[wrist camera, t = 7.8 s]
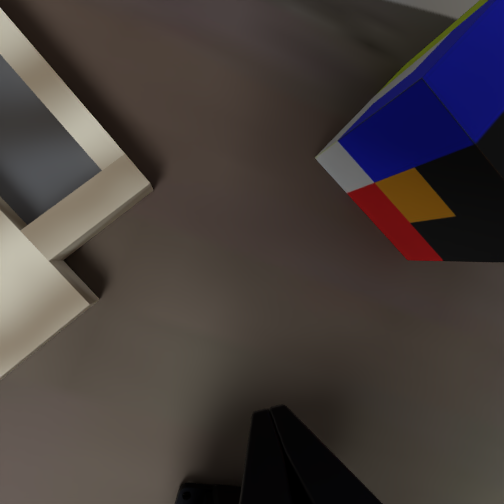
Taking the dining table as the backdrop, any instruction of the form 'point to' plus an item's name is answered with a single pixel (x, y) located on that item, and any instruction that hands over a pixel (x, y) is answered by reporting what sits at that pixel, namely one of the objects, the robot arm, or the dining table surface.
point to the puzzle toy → (434, 146)
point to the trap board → (49, 197)
